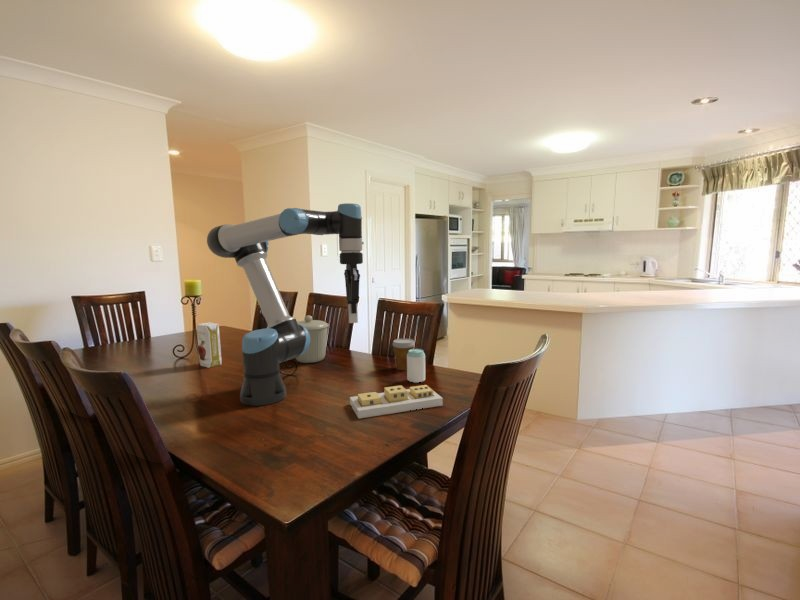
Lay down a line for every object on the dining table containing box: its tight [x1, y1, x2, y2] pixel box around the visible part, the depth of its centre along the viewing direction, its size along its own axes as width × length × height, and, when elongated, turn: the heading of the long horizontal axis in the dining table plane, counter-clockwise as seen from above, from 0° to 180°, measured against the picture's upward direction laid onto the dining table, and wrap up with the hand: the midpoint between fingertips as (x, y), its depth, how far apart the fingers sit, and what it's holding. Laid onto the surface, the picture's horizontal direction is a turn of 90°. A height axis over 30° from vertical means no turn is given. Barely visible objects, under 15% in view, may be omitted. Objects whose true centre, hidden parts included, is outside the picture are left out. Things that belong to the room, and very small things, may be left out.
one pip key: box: [357, 391, 381, 407], centre depth 128 cm, size 6×6×4 cm
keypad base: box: [349, 388, 444, 420], centre depth 132 cm, size 28×12×2 cm, turn 109°
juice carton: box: [196, 321, 222, 369], centre depth 179 cm, size 8×9×19 cm
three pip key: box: [409, 384, 434, 399], centre depth 134 cm, size 6×6×4 cm
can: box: [406, 348, 426, 384], centre depth 155 cm, size 7×7×12 cm
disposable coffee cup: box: [391, 338, 416, 371], centre depth 171 cm, size 10×10×12 cm
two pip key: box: [383, 385, 408, 403], centre depth 131 cm, size 6×6×4 cm
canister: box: [295, 314, 330, 364], centre depth 185 cm, size 18×18×21 cm
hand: (353, 322), depth 135 cm, fingers closed
